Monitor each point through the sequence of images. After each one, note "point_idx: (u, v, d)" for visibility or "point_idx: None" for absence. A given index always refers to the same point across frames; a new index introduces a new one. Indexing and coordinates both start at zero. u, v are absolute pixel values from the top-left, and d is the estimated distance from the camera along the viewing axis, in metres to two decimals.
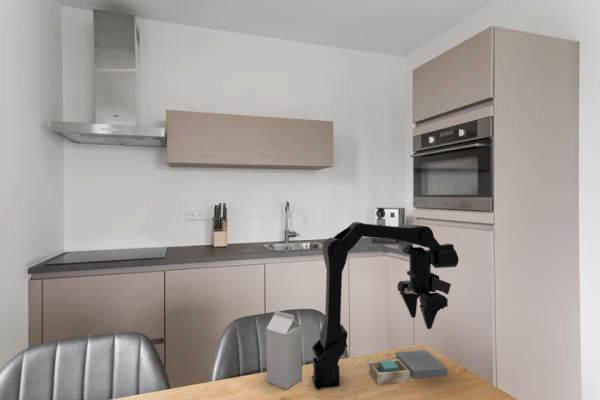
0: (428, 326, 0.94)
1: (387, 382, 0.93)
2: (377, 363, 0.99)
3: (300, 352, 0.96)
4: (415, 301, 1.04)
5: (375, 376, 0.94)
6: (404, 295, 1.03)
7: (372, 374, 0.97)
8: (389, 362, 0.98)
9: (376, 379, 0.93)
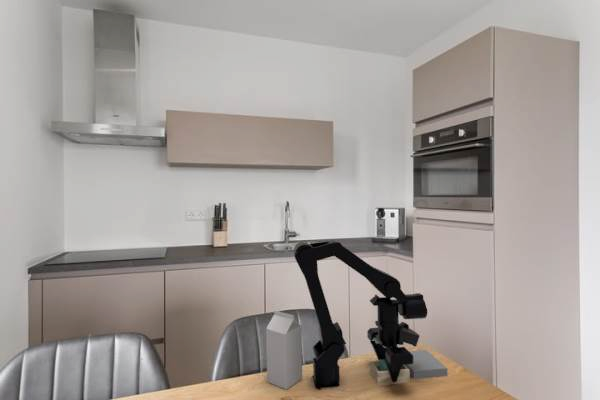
0: (393, 379, 0.92)
1: (387, 381, 0.93)
2: (377, 362, 0.99)
3: (300, 352, 0.96)
4: None
5: (375, 374, 0.94)
6: (374, 345, 1.00)
7: (372, 373, 0.97)
8: None
9: (376, 378, 0.93)
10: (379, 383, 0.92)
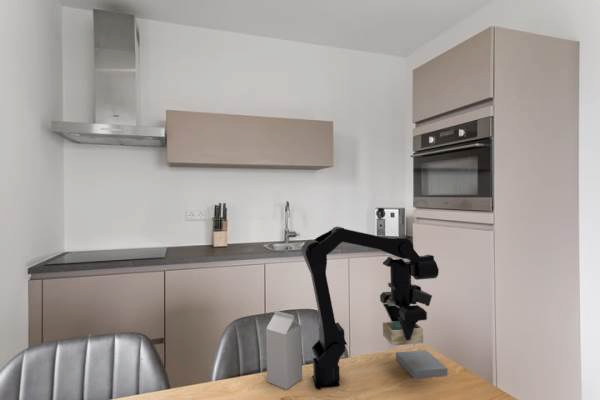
0: (407, 337, 0.94)
1: (401, 339, 0.95)
2: (390, 323, 1.01)
3: (300, 352, 0.96)
4: (399, 314, 1.03)
5: (389, 334, 0.97)
6: (387, 307, 1.02)
7: (386, 333, 0.99)
8: None
9: (390, 337, 0.96)
10: (393, 341, 0.95)
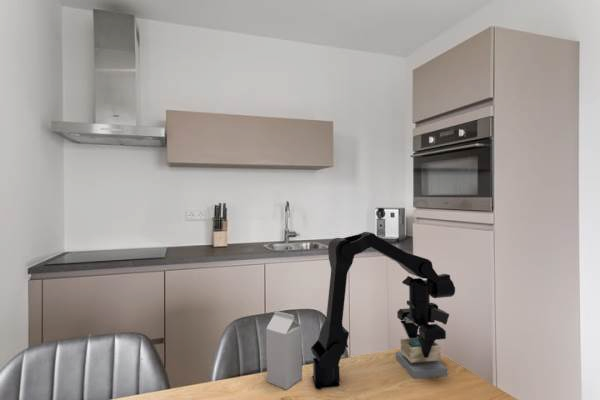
0: (425, 355, 0.98)
1: (419, 356, 0.98)
2: (408, 340, 1.04)
3: (300, 352, 0.96)
4: (416, 331, 1.06)
5: (407, 351, 1.00)
6: (405, 324, 1.06)
7: (404, 350, 1.02)
8: None
9: (409, 353, 0.99)
10: (412, 358, 0.98)
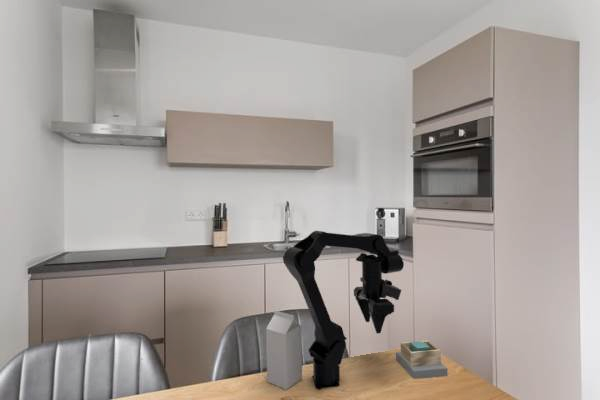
0: (377, 331, 0.98)
1: (419, 360, 0.98)
2: (408, 344, 1.04)
3: (300, 352, 0.96)
4: None
5: (407, 355, 1.00)
6: (359, 300, 1.08)
7: (404, 354, 1.02)
8: (420, 343, 1.03)
9: (409, 358, 0.99)
10: (412, 363, 0.98)
